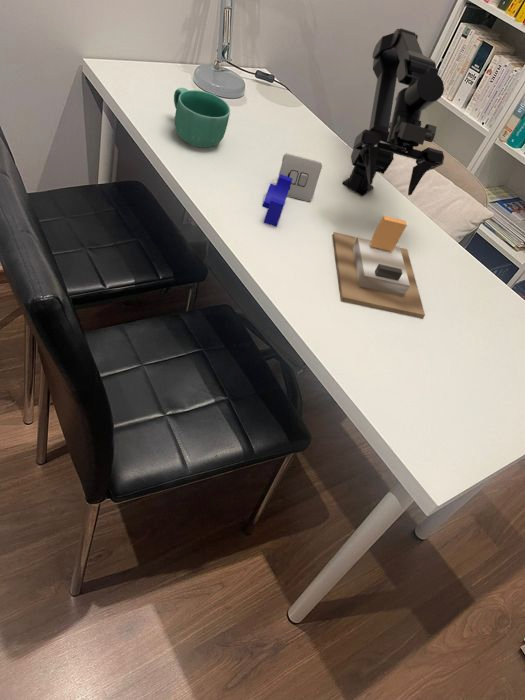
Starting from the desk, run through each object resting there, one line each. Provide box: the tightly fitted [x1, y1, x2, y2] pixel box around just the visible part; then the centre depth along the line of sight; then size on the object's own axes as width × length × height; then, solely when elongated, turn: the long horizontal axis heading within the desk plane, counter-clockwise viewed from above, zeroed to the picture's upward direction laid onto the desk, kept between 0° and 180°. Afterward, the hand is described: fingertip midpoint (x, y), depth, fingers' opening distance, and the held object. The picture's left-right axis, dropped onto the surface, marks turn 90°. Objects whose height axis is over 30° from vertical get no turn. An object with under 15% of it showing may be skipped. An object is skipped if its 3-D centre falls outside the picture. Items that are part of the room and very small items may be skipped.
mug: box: [173, 87, 231, 148], centre depth 140 cm, size 17×13×10 cm
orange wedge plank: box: [370, 215, 408, 251], centre depth 121 cm, size 7×5×2 cm
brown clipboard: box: [331, 231, 426, 319], centre depth 122 cm, size 22×18×6 cm
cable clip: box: [262, 174, 293, 228], centre depth 128 cm, size 12×4×6 cm, turn 169°
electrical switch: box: [275, 152, 323, 202], centre depth 135 cm, size 9×5×9 cm, turn 90°
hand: (390, 189), depth 123 cm, fingers open, 9 cm apart
